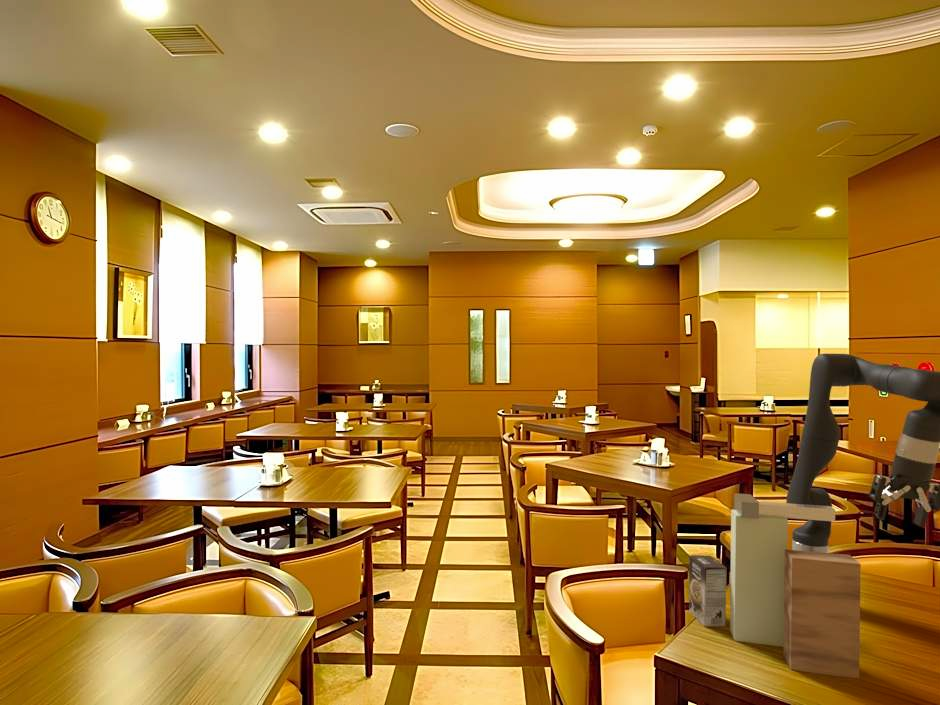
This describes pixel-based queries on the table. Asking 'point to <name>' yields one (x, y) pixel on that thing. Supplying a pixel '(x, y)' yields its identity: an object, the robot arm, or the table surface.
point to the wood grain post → (822, 613)
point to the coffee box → (707, 590)
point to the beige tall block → (757, 579)
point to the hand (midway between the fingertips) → (898, 521)
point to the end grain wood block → (780, 509)
